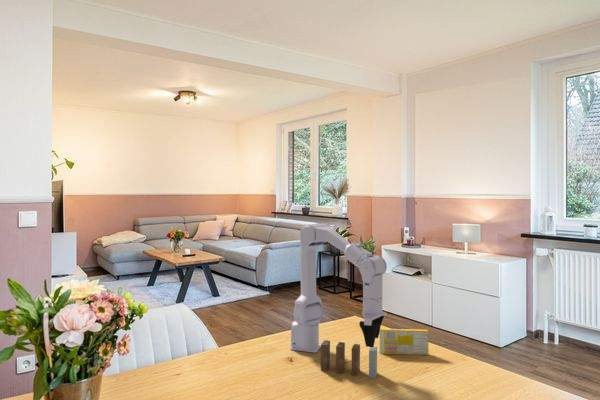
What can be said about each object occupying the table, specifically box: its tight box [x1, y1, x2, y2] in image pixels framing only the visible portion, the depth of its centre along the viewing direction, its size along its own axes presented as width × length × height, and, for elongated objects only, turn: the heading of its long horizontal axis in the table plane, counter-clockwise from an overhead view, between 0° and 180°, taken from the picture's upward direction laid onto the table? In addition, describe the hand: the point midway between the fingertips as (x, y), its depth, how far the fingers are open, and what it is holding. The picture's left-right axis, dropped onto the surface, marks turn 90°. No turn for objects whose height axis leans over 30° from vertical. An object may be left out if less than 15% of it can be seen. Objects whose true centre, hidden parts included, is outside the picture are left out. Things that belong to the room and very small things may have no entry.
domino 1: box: [320, 339, 331, 372], centre depth 128 cm, size 2×4×8 cm, turn 161°
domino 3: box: [350, 343, 361, 376], centre depth 125 cm, size 2×4×8 cm, turn 161°
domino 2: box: [335, 341, 346, 374], centre depth 127 cm, size 2×4×8 cm, turn 161°
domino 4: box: [368, 345, 378, 379], centre depth 124 cm, size 2×4×8 cm, turn 161°
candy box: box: [378, 327, 430, 356], centre depth 140 cm, size 16×2×8 cm, turn 84°
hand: (372, 342), depth 124 cm, fingers open, 7 cm apart
